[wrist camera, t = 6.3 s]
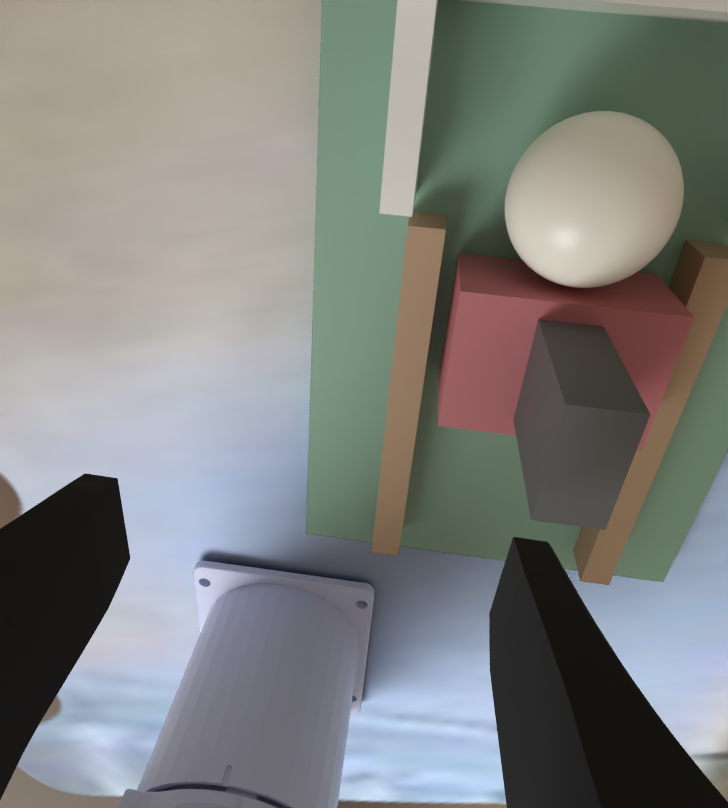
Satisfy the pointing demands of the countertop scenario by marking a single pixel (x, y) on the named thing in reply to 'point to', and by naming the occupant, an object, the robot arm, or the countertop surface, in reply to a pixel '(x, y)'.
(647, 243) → the ball
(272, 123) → the countertop surface
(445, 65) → the pitch
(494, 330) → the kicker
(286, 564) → the countertop surface
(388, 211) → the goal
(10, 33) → the countertop surface
